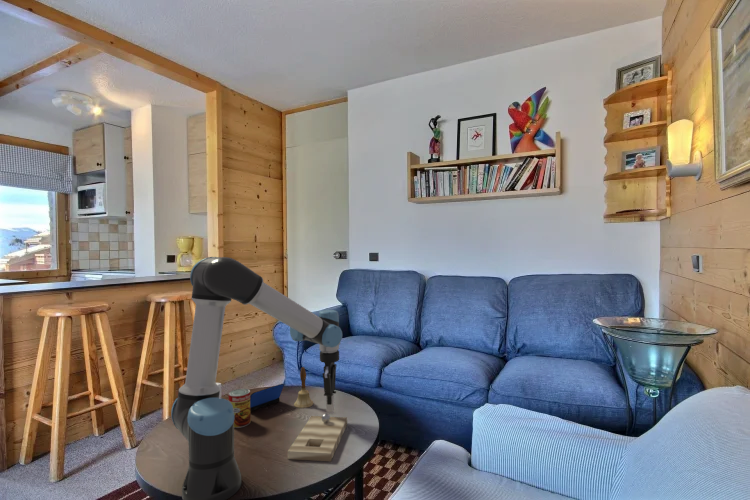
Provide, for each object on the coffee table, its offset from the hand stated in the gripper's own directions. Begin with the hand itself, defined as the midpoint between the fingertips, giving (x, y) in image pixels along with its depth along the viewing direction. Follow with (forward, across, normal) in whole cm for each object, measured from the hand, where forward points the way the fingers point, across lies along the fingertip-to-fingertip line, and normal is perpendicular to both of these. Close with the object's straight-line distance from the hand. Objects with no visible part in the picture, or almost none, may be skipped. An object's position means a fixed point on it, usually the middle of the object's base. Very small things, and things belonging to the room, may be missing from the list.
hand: (330, 411), depth 149 cm
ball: (0, -7, 0) cm, 7 cm away
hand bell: (+4, +15, +15) cm, 22 cm away
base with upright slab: (+4, 0, +49) cm, 50 cm away
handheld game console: (+4, +12, +34) cm, 36 cm away
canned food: (+4, -5, +34) cm, 35 cm away
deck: (+4, -15, 0) cm, 16 cm away
